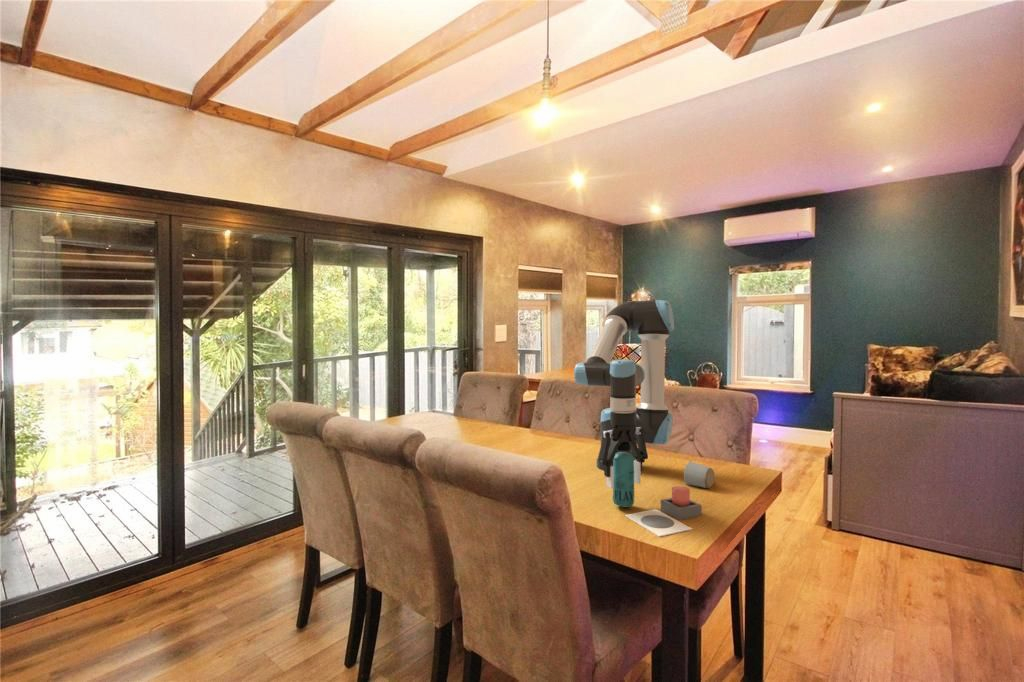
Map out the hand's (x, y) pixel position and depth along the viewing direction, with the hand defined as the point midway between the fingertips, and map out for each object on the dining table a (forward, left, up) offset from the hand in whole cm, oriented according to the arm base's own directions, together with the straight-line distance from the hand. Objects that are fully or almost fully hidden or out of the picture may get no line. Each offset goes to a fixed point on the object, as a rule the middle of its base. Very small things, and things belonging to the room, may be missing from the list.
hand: (623, 484), depth 144 cm
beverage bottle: (0, 0, -7) cm, 7 cm away
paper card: (+13, +2, -7) cm, 15 cm away
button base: (+10, +13, -7) cm, 18 cm away
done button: (+10, +13, -5) cm, 17 cm away
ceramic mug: (-6, +36, -7) cm, 37 cm away
